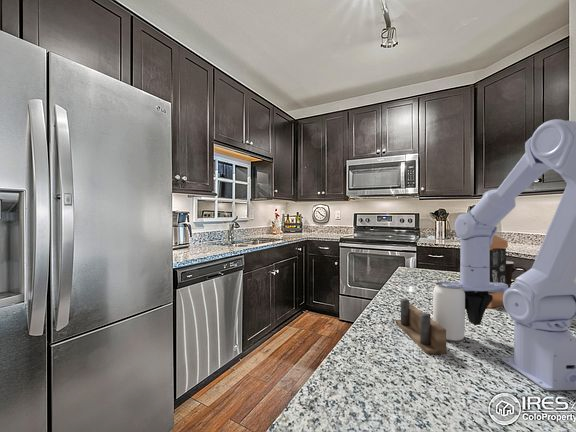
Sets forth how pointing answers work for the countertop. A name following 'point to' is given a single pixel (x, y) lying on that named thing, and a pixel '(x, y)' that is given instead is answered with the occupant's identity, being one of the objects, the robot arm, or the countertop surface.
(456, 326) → the can
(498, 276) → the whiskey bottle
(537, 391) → the countertop surface
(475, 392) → the countertop surface
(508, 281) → the coffee mug
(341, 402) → the countertop surface
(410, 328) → the rail
